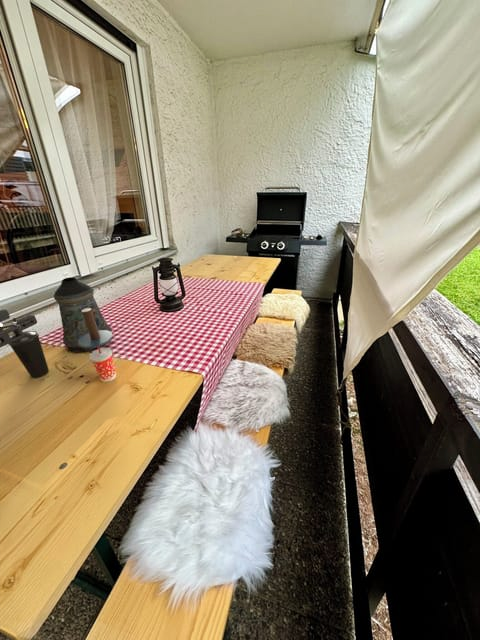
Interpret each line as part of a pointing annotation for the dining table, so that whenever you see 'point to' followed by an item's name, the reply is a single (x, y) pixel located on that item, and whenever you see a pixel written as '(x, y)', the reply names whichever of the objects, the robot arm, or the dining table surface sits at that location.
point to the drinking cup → (31, 353)
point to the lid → (93, 332)
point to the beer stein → (77, 312)
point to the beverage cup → (103, 364)
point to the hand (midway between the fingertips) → (20, 315)
